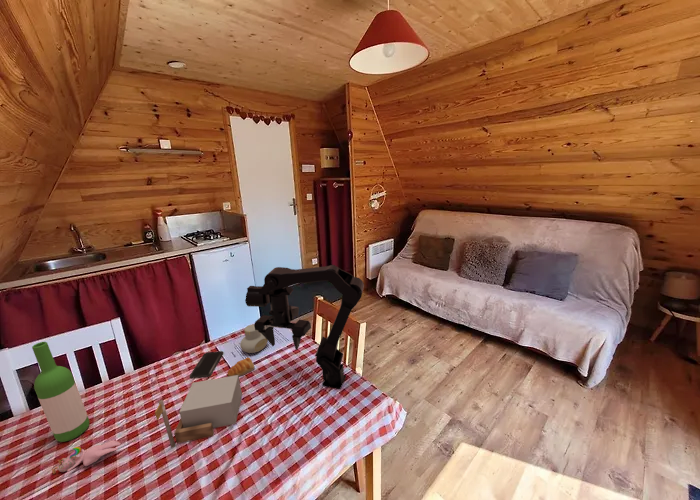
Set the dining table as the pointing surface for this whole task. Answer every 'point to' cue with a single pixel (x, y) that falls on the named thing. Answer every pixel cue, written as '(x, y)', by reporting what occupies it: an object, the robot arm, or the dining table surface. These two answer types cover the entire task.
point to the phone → (206, 365)
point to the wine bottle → (59, 396)
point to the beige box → (212, 402)
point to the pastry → (241, 367)
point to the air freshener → (252, 340)
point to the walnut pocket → (181, 432)
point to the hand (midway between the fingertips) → (285, 347)
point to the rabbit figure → (85, 456)
